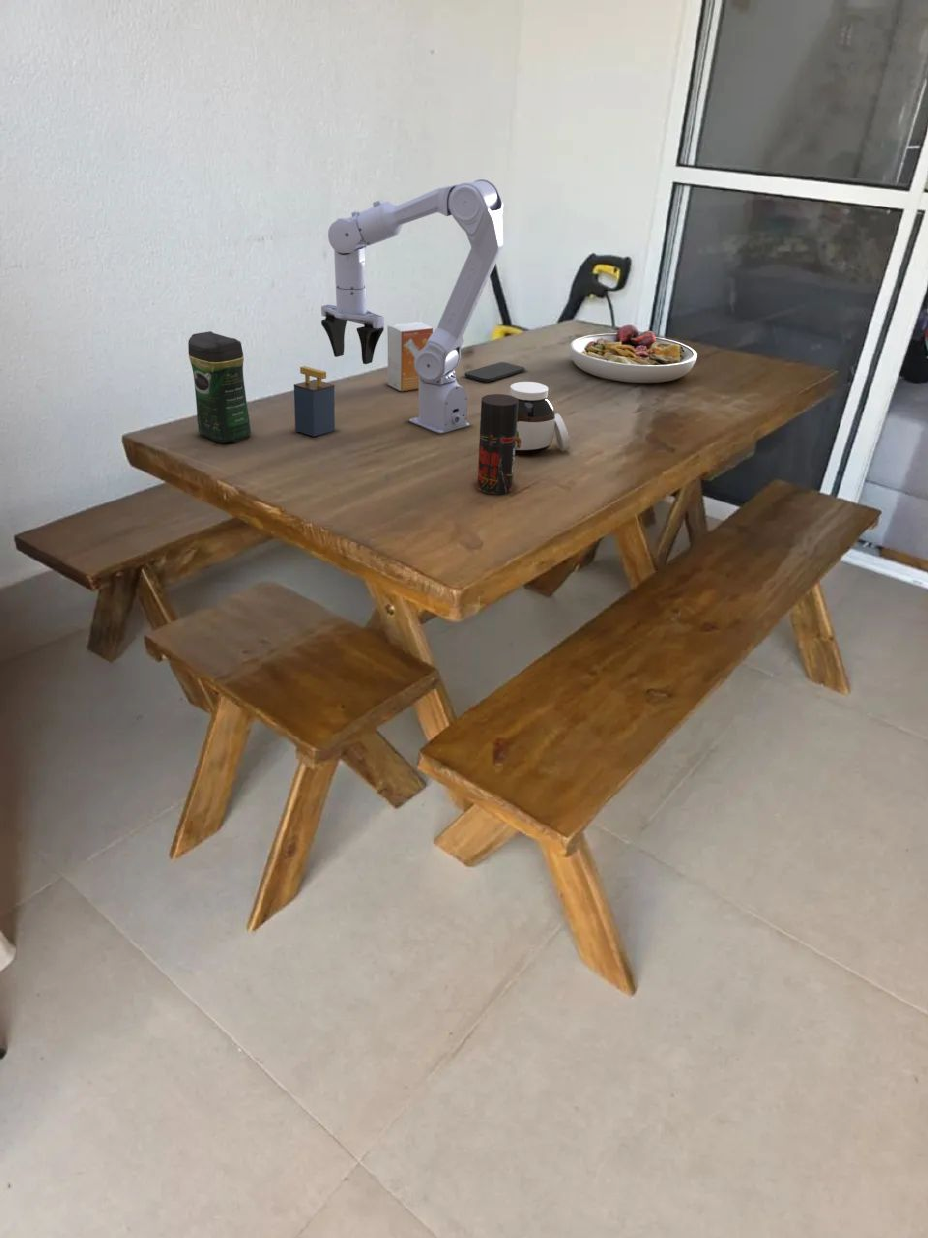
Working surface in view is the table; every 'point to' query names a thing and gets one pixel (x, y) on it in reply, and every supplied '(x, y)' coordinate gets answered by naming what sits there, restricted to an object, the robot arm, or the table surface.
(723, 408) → the table surface
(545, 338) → the table surface
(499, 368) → the phone
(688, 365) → the bowl
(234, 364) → the coffee jar
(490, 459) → the deodorant
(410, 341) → the small box
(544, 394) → the spread jar
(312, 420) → the box
